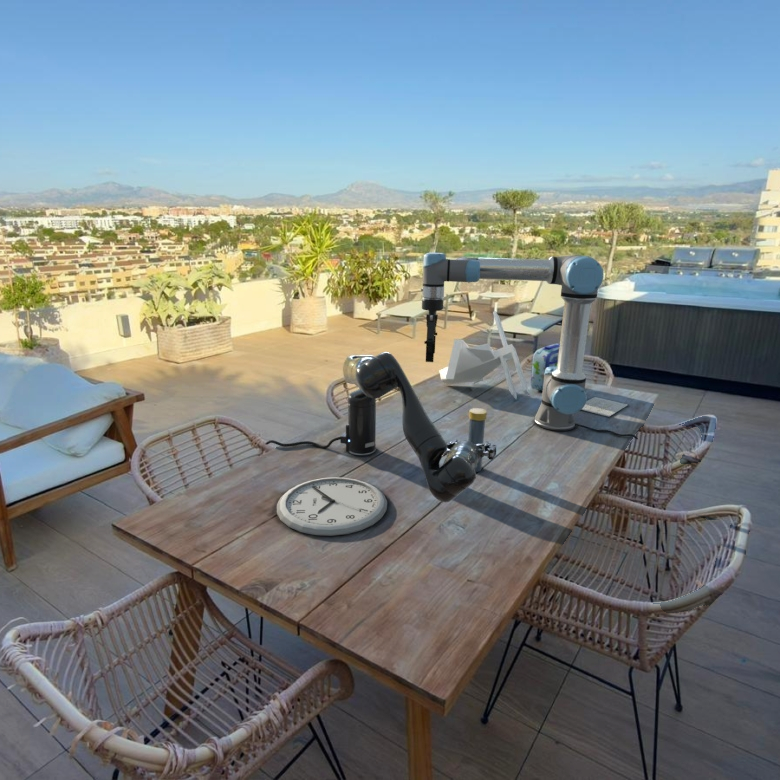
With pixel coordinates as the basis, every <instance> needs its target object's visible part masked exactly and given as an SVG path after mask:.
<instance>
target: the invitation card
mask: <svg viewBox="0 0 780 780" xmlns="http://www.w3.org/2000/svg"><path fill="white" fill-rule="evenodd" d="M628 406H629V404H627V403H623V402H618V401H614V400H609V399H605V398H601V397H596V396H593V397H592V398H590V399H587V401H586V404H585V406H584V407H583V408H582V409H581V410H580V411H584V412H587V413H593V414H596V415H600V416H604V417H608V418H609V417H611V416H613V415H614V414H616V413H617V412H619V411H621V410H623V409H624V408H626V407H628Z"/></svg>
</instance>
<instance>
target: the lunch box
mask: <svg viewBox="0 0 780 780" xmlns="http://www.w3.org/2000/svg"><path fill="white" fill-rule="evenodd" d="M559 346H560V343H553V344H550V345H547V346H546V345H545V346H544V347H541V348H538V349H537V350H536V351H535V352H534V354H533V357H532V362H531V371H530V372H531V374H530V387H531V389H533V390H539V391H543V382H544V373H545V369H546V368H547V367H553V366H557V364H558V355H559Z"/></svg>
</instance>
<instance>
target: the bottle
mask: <svg viewBox="0 0 780 780" xmlns="http://www.w3.org/2000/svg"><path fill="white" fill-rule="evenodd" d="M468 426H469V427H468V440H467V441H470V442H472V443H474V444H479V443H480V444H484V442H485V441H484V438H485V429H486V427H485V426H486V419H485V420H483V421H476V420H472V419H470V418H469V425H468ZM478 448H479V447H478ZM482 464H483V457H482V458H480V460H479V462H478V466H477V467H476V469H475V472H476V473H478V472H481V471H482V469H483V468H482V467H483V465H482Z"/></svg>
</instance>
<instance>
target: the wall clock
mask: <svg viewBox="0 0 780 780" xmlns="http://www.w3.org/2000/svg"><path fill="white" fill-rule="evenodd" d="M387 509H388V500H387V498H386V496H385V494H384V493H383V492H382V491H381V490H380V489H379V488H377V487H376V486H374V485H372V484H371V483H369V482H365V481H362V480H359V479H355V478H349V477H338V476H337V477H335V476H333V477H332V476H331V477H322V478H317V479H312V480H307V481H305V482H302V483H299V484H297V485H295V486H293V487H292V488H290V489H288V490H287V491H286V492H285V493H284V494H283V495H281V496H280V498H279V499H278V502H277V503H276V515H277V517H278V518H279V520H280V521H281V522H282V523H283V524H285V525H286V526H287V527H288V528H290V529H293V530H295V531H297V532H299V533H303V534H308V535H312V536H327V537H328V536H329V537H331V536H332V537H333V536H342V535H350V534H352V533H356V532H361V531H363V530H366V529H368V528H369V527H372V526H373V525H375V524H376V523H378V522H379V521H380V520H381V519H382V518H383V517H384V516H385V514H386V512H387Z"/></svg>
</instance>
